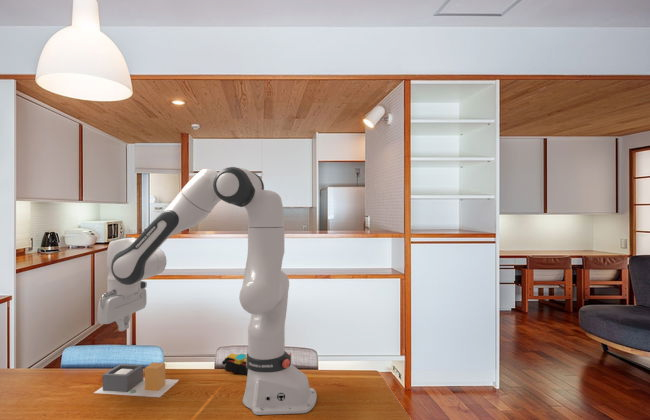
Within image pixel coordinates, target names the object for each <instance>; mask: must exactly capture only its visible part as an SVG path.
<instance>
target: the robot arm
mask: <svg viewBox="0 0 650 420" xmlns="http://www.w3.org/2000/svg"><path fill="white" fill-rule="evenodd" d="M221 201H223V202H224V203H227V204H231V205H233V206H236V207H240V208H244V209H245V210H246V213H247V257H246V263H245V268H244V274H243V282H242V286H241V289H240V292H239V303H240V305H241V307H242V309H243V310H244V311H245V312H247V313H249V314H251V315H250V322H249V324H248V328H247V329H248V330H247V351H248V352H247V353H246V357H247V358H246V368H247V372H248V373H247V375H246V384H245V391H244V393H243V394H244V395H243V397H242V404H243V405H244V406H245V407H247V408H249V409H250V410H251V411H252V413H253V414H254V415H259V416H260V415H261V416H262V415H263V416H264V415H287V414H288V415H290V414H307V413H308V412H310V411H311V410H312V409H313V408H314V407H315V405H316V403H317V399H318V396H317V391H316V390H315V388H313V387H310V382H309V378H308V377H307V375H306V374H305V373H304V372H302V371H301V370H300V369H298V367H296V366H294V365H293V364H292V352H289V353H288V352H287V351H286V350H285V347H286V346H285V329H286V328H285V327H286V317H287V311H288V310H287V309H288V301H289V298H288V297H289V291H290V290H289V289H290V278H289V277H288V275H287V273H286V272H284V271H282V265H283V259H284V255H285V213H284V204H283V202H282V201H283V200H282V198H281V196H280V194H278V193H277V192H276V191H272V190H269V189H267V190H266V189H265V185H264V182H263V179H262V177H260V176H259V175H258V174H257V173H255V172H253V171H250V170H249V169H247V168H241V167H235V166H230V167H226V168H223V169H221V170H220V171H217V170H215V169H212V168H203V169H201V170H199V172H198V173H196V174H195V175H194V176H193V177H192V178H191V179H190V180H188V182H187V183H186V184H185V185H184V186H183V187H182V189H181V190H180V191H179V193H178V194H177V195H176V196H175V197H174V199H172V201H171V202H170V204H169V205H168V206H166V208H165V209H164V210H162V211H161V213H160V214H159V215H158V216H156V218H155V219H154V220H153V221H152V222H151V223H150V224H149V225H148V226H147V227H146V228H145V229H144V230H143V232H142V233H141V234H140V235H139V236H138V237H137V238H136V237H135V236H134V237H133V236H125V237H119V238H115V239H112V240H111V241H109V244H108V247H107V252H106V267H107V270H108V273H107V274H108V275H107V277H106V278H107V280H106V281H107V285H106V286H107V287H106V289H107V290H106V291H107V292H104V293H103V294H102V296H101V297H100V299H99V301H98V306H97V314H96V315H97V317H96V318H97V323H98V324H99V325H109V324H112V323H114V322H115V323H116V324H117V329H118V331H119V332H123V331H124V332H125V330H129V328H130V323H131V318H132V314H135V313H137V312H139V311H141V310H143V309H145V308H146V306H147V298H148V297H147V289H146V288H147V287H148V283H147V281H145V280H146V279H149V278H152V277H155V276H157V275H159V274H161V273H162V272H164V270H165V269H166V267H167V256H166V254H165V252H164V251H163V250H162V249H161V248H160V247H161V246H162V244H164V243H165V242H166V240H168V239H169V238H170V237H172V236H174V235H177V234H178V233H180V232H183V231H186V230H188V229H192V228H194V227H196V226H198V225H199V224H200V223H201V222H203V221H204V220H205V219H206V218H207V217H208V216H209V215H210V213H211V212H212V211H213V210H214V208H215V206H217V204H218V203H220V202H221Z"/></svg>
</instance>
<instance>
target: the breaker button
mask: <svg viewBox="0 0 650 420" xmlns="http://www.w3.org/2000/svg"><path fill="white" fill-rule="evenodd" d="M132 370H133V369H120V370H119V371H117V372H116V373H114V374H124V375H127V374H128V373H130V372H131V371H132Z"/></svg>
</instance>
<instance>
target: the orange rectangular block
mask: <svg viewBox="0 0 650 420" xmlns="http://www.w3.org/2000/svg"><path fill="white" fill-rule="evenodd" d="M144 378H145V390H152V391H158V390H159V389H161V388H162V387H163V386H164V385H165V379H166V362H151V363H150V364H148V365H147V366H145V367H144Z"/></svg>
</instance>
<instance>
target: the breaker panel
mask: <svg viewBox="0 0 650 420" xmlns="http://www.w3.org/2000/svg"><path fill="white" fill-rule="evenodd" d="M120 369H133V370H132V371H131V372H130V373H128V374H127V375H124V374H114V373H116V372H117V371H119V370H120ZM179 380H180V379H171V378H165V385H164V386H163V387H162V388H161V389H159V390H158V391H152V390H145V377H144V365H141V364H127V363H125V364H124V363H119V364H118V365H116V366H115V367H113V368H111V369H109V370H108V371H106V372H105V373H103V374H102V386H101V387H100V388H99V389H97V390H96V391H94V392H93V394H100V395H101V394H105V395H116V396H117V395H119V396H120V395H121V396H135V397H148V398H161V397H162V396H164V394H165V393H166V392H168V390H170V389H171V388H172V387H173V386H175V385H176V384H177V383H178V382H179Z"/></svg>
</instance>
